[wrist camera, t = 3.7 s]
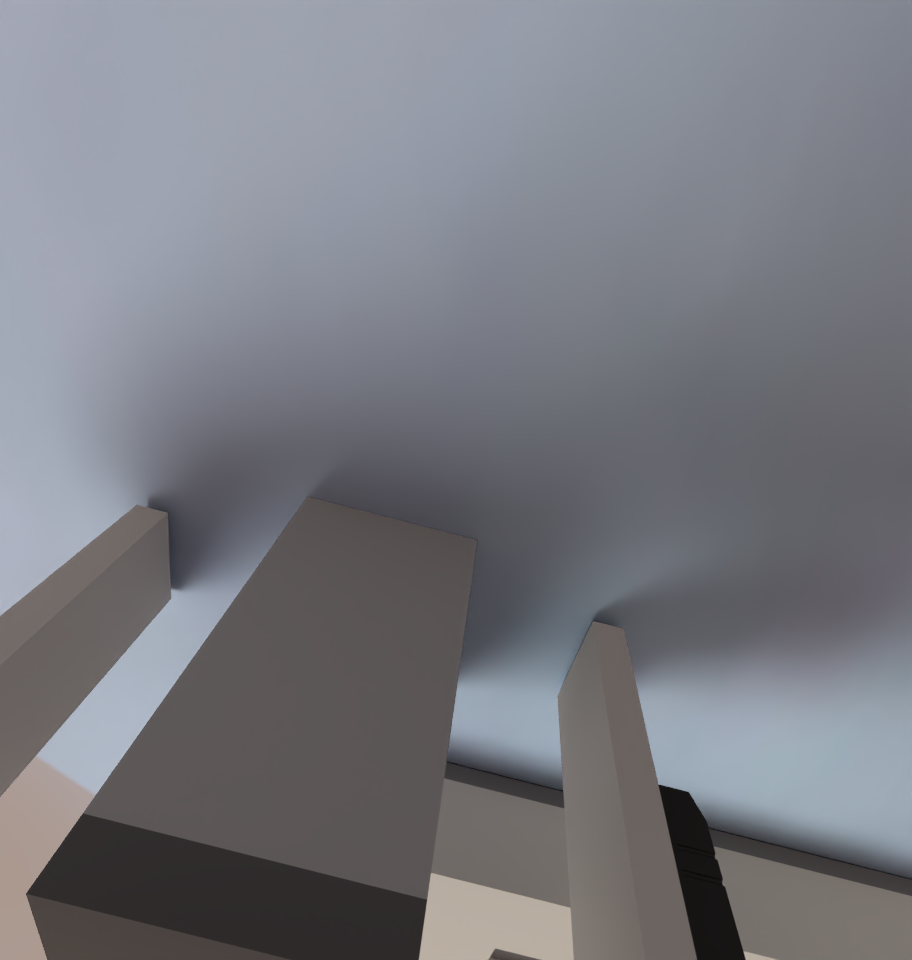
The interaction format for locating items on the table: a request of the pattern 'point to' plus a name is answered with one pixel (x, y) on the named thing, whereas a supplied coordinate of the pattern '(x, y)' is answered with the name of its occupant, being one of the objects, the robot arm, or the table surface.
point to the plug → (283, 765)
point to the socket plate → (546, 896)
